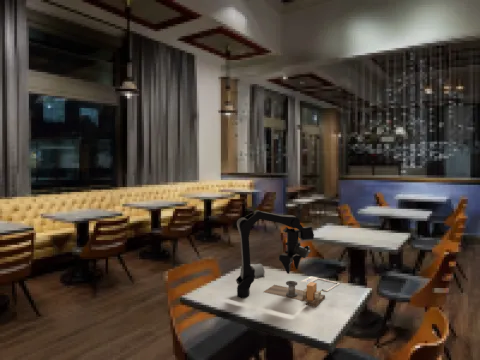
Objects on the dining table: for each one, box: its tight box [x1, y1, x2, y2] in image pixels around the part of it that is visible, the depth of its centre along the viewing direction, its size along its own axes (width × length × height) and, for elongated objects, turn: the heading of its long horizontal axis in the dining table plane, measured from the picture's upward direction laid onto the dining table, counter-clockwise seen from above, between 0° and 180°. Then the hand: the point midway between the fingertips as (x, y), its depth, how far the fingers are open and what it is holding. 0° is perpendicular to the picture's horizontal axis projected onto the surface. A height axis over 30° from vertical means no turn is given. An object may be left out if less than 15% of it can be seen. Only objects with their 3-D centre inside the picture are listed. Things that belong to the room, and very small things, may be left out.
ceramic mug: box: [251, 263, 266, 280], centre depth 199 cm, size 11×8×8 cm
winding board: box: [263, 280, 326, 308], centre depth 171 cm, size 12×28×8 cm, turn 56°
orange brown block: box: [306, 281, 318, 301], centre depth 165 cm, size 3×5×7 cm, turn 147°
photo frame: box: [300, 276, 341, 293], centre depth 188 cm, size 15×1×18 cm
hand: (292, 271), depth 175 cm, fingers open, 9 cm apart
